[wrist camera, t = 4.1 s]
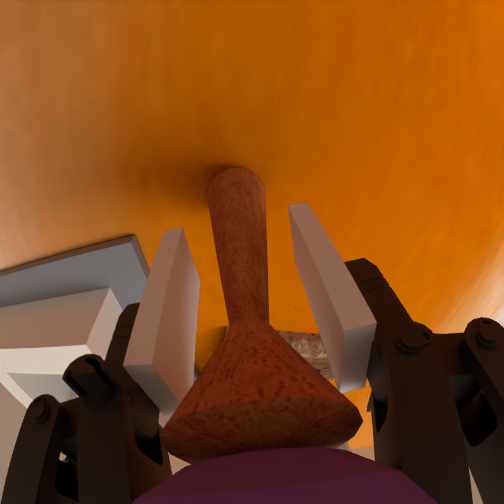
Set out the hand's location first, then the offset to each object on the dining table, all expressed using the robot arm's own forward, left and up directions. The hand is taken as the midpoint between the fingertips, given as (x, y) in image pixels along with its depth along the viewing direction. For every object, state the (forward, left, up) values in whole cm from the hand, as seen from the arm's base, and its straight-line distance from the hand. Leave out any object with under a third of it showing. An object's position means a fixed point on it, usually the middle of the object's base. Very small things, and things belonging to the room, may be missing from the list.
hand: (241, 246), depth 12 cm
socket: (+11, -17, -7) cm, 21 cm away
